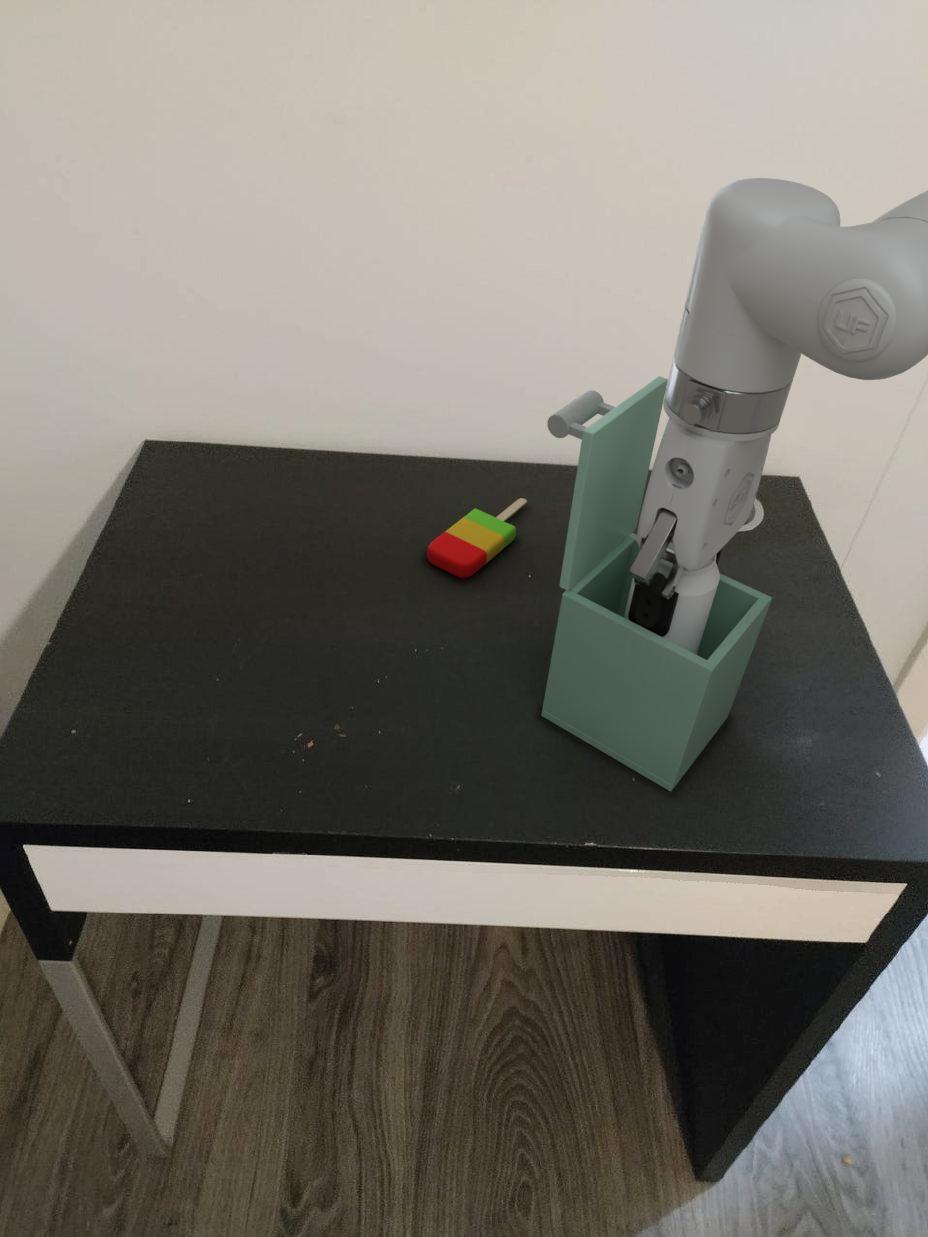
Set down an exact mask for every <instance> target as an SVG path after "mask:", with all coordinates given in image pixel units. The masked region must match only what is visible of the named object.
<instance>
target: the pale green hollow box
mask: <svg viewBox="0 0 928 1237" xmlns="http://www.w3.org/2000/svg"><path fill="white" fill-rule="evenodd" d="M640 550H641V549H640V547H639V546H638V543H637V533H634V532H632V533H631V534H630V535H629V536H628V537H627V538H626V539H624V540H623V541H622V542H621V543H620V544H619V545H618V546H617V547H616V548H614V549H613V550H612V551H611V552H610V553H609V554H608V555H607V556H606V557H604V558H603V559H602V560H601V561H600V562H599V563H598V564H597V565H596V566H594V567H593V568H592V569H591V570H590V571H589V572H588V573H587V574H586V575H584V576H583V577H582V578H581V579H580V580H579V581H578V582H577V583H576V584H574V585H573V586H572V587H571V588H570V589H569V590H568V591H567V590H565V591H564V592H563V593H562V594H561V599H560V600H561V601H560V606H559V612H558V618H557V624H556V629H555V634H554V640H553V645H552V646H553V647H552V652H551V657H550V664H549V670H548V673H547V680H546V686H545V692H544V697H543V703H542V709H541V715H540V716H541V717H543V718H544V719H546V720H547V721H549V722H552V723H553V724H554V725H556V726H558V727H560V728H561V729H562V730H565V731H567V732H568V733H570V734H572V735H573V736H575V737H577V738H578V739H580V740H582V741H583V742H585V743H586V744H589V745H590V746H591V747H594V748H595V749H597V750H598V751H601V752H602V753H604V754H605V755H607V756H608V757H611V758H612V759H614V760H616V761H617V762H618V763H621V764H623V765H624V766H626V767H628V768H629V769H631V770H632V771H634V772H636V773H637V774H640V775H641V776H643V777H645V778H646V779H648V780H649V781H651V782H653V783H655V784H657V785H658V786H660V787H662V788H664V789H666V790H667V791H668V792H672V791H673V790H674V789H675V787H676V786H677V785H678V784H679V782H680V781H681V780H682V778H683V776H684V775H685V774H686V773H687V771H688V770H689V769H690V768H691V767H692V765H693V764H694V763H695V761H696V760H697V758H699V756H700V755H701V753H702V752H703V750H704V749H705V748H706V746H707V745H708V744H709V742H710V741H711V740H712V738H713V737H714V736H715V734H716V733H717V732H718V731H719V729H720V728H721V727H722V725H723V724H724V723H725V721H726V720H727V719H728V717H729V715H730V712H731V709H732V706H733V704H734V701H735V698H736V696H737V693H738V691H739V688H740V686H741V683H742V679H743V677H744V675H745V672H746V669H747V667H748V664H749V661H750V659H751V656H752V653H753V650H754V648H755V645H756V643H757V640H758V637H759V635H760V632H761V629H762V627H763V624H764V621H765V618H766V616H767V613H768V611H769V607H770V605H771V603H772V600H773V597H772V596H770V595H767V594H765V593H763V592H762V591H759V590H756V589H754V588H753V587H750V586H748V585H747V584H744V583H742V582H740V581H737V580H735V579H733V578H732V577H729V576H726V575H724V574H723V573H720V572H719V574H720V579H719V583H718V586H717V590H716V593H715V596H714V600H713V603H712V606H711V609H710V613H709V616H708V619H707V622H706V626H705V629H704V632H703V635H702V639H701V642H700V645H699V648H698V652H697V655H696V654H694V653H692V652H690V651H688V650H686V649H684V648H682V647H680V646H678V645H676V644H674V643H672V642H670V641H668V640H666V639H665V638H663V637H661V636H659V635H657V634H655V633H653V632H651V631H649V630H647V629H645V628H643V627H641V626H639V625H637V624H635V623H633V622H631V621H629V620H627V619H625V618H624V615H625V611H626V606H627V602H628V597H629V593H630V588H631V584H632V579H633V577H632V576H631V574H630V569H631V567H632V565H633V563H634V561H635V559H636V558H637V556H638V554H639V552H640Z"/></svg>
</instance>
